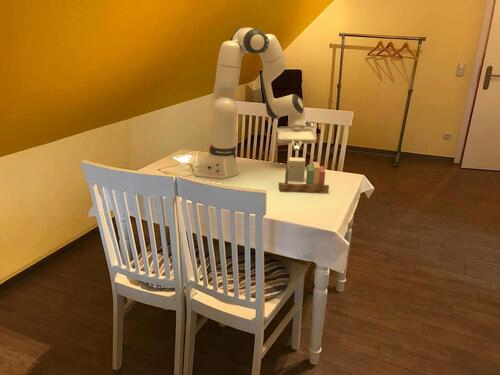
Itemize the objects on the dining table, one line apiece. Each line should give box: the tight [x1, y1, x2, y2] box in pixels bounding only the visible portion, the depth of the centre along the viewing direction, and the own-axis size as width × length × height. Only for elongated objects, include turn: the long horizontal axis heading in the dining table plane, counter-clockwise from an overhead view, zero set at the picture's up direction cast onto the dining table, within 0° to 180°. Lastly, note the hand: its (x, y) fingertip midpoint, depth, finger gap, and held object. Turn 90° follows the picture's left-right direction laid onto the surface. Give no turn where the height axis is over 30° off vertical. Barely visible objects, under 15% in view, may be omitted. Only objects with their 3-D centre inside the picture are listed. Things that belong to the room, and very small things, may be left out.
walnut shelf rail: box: [279, 182, 330, 194], centre depth 192 cm, size 22×2×4 cm, turn 87°
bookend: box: [278, 165, 289, 191], centre depth 196 cm, size 4×8×9 cm, turn 177°
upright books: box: [305, 161, 326, 185], centre depth 195 cm, size 8×8×12 cm
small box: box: [287, 156, 306, 182], centre depth 206 cm, size 8×6×10 cm
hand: (296, 149), depth 215 cm, fingers closed
